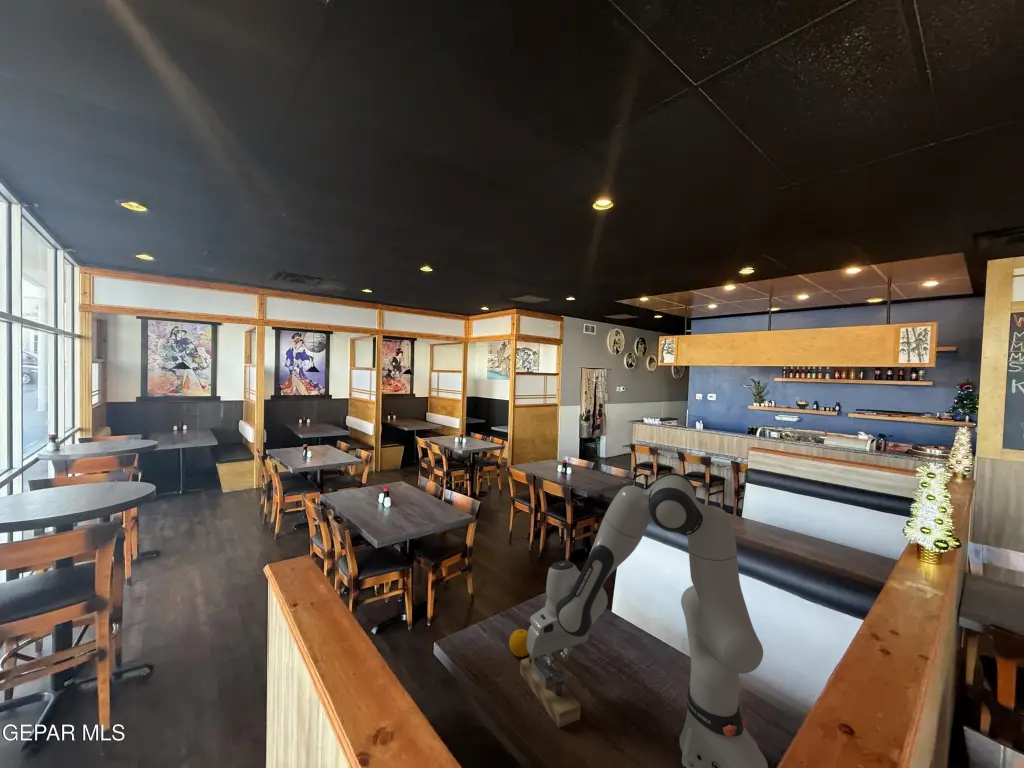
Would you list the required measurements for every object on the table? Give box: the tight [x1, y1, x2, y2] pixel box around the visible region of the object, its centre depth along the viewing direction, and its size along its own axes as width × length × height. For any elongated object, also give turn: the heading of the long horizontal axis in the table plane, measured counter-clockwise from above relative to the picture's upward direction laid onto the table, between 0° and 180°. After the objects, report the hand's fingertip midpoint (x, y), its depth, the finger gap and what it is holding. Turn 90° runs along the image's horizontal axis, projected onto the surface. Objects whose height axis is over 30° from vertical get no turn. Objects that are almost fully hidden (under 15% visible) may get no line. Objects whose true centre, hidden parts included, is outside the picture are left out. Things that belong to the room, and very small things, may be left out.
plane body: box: [519, 653, 582, 729], centre depth 122 cm, size 22×7×8 cm, turn 27°
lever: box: [528, 654, 566, 685], centre depth 121 cm, size 13×4×2 cm, turn 37°
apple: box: [508, 628, 529, 658], centre depth 139 cm, size 8×8×8 cm
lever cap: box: [531, 655, 557, 688], centre depth 123 cm, size 8×5×3 cm, turn 27°
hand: (557, 661), depth 124 cm, fingers open, 4 cm apart
